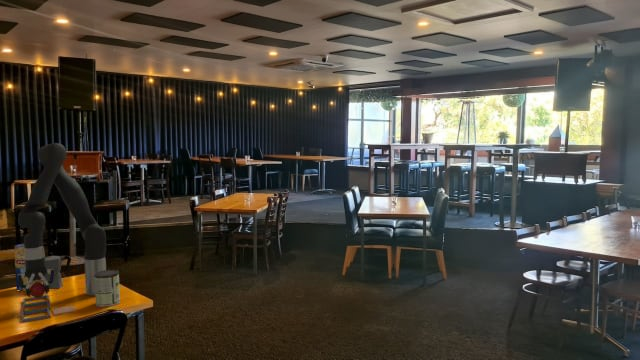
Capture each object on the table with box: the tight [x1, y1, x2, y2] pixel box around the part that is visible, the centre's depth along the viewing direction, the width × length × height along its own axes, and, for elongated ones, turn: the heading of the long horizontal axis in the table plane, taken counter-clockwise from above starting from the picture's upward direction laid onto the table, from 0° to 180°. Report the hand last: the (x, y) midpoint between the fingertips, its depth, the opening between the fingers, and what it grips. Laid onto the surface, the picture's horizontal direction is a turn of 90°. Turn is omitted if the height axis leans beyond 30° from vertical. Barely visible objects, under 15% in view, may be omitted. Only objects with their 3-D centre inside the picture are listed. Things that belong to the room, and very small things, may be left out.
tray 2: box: [22, 300, 51, 312], centre depth 209 cm, size 10×10×1 cm
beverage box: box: [13, 243, 43, 291], centre depth 239 cm, size 7×11×22 cm, turn 120°
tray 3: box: [21, 307, 52, 323], centre depth 200 cm, size 10×10×1 cm
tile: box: [51, 305, 76, 317], centre depth 206 cm, size 8×8×1 cm
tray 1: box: [22, 294, 51, 305], centre depth 218 cm, size 10×10×1 cm
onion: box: [30, 281, 46, 300], centre depth 208 cm, size 6×6×8 cm
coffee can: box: [94, 269, 121, 308], centre depth 216 cm, size 10×10×14 cm
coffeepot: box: [42, 251, 72, 290], centre depth 241 cm, size 15×9×18 cm, turn 117°
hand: (37, 294), depth 208 cm, fingers closed on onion, 6 cm apart
